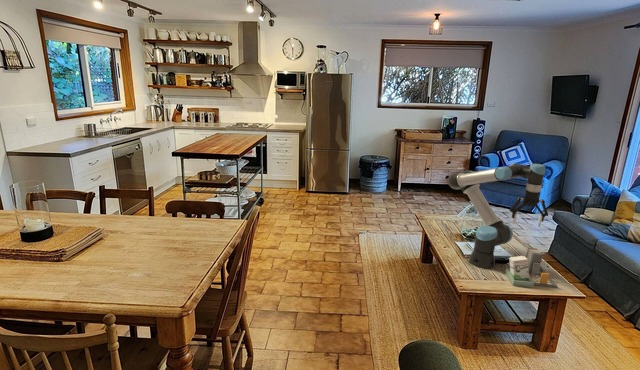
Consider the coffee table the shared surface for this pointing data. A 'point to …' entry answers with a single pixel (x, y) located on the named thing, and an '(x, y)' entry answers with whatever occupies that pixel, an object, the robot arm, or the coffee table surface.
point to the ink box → (519, 267)
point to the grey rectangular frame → (542, 276)
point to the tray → (519, 280)
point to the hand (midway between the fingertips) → (526, 224)
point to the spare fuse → (533, 257)
